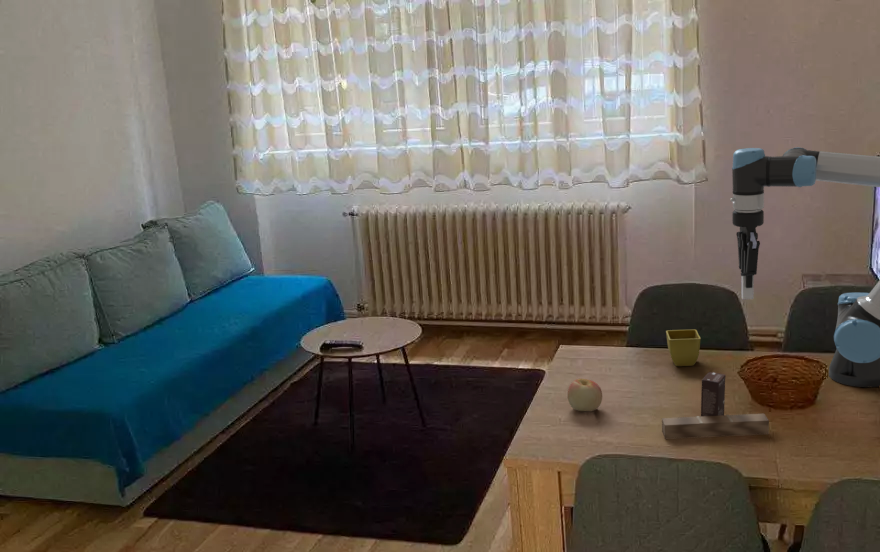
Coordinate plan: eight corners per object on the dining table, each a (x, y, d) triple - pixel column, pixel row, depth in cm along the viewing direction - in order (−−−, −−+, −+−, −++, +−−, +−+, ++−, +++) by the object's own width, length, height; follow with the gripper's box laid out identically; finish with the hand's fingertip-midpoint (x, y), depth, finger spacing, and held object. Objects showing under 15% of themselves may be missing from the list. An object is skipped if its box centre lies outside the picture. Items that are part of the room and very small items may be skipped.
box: (718, 428, 208) (718, 382, 205) (700, 425, 211) (699, 379, 208) (726, 419, 213) (726, 373, 210) (707, 416, 216) (707, 371, 213)
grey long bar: (763, 426, 207) (763, 413, 206) (768, 434, 203) (768, 419, 202) (662, 431, 209) (661, 417, 208) (665, 438, 205) (664, 424, 205)
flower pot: (666, 358, 256) (665, 329, 254) (696, 357, 255) (696, 328, 253) (669, 369, 248) (669, 339, 246) (701, 368, 247) (701, 338, 244)
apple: (571, 402, 231) (570, 374, 229) (605, 404, 228) (604, 376, 226) (565, 416, 223) (563, 387, 221) (599, 418, 220) (598, 388, 218)
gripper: (726, 206, 227) (726, 292, 233) (739, 215, 214) (739, 306, 220) (755, 204, 226) (755, 290, 232) (770, 213, 214) (769, 304, 219)
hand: (747, 298), depth 226 cm, fingers closed
